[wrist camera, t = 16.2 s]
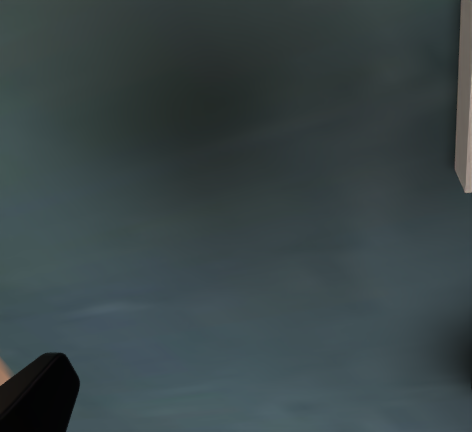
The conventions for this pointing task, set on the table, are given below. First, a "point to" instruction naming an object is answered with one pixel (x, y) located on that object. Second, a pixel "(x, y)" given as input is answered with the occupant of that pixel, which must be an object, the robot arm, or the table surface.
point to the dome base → (464, 100)
